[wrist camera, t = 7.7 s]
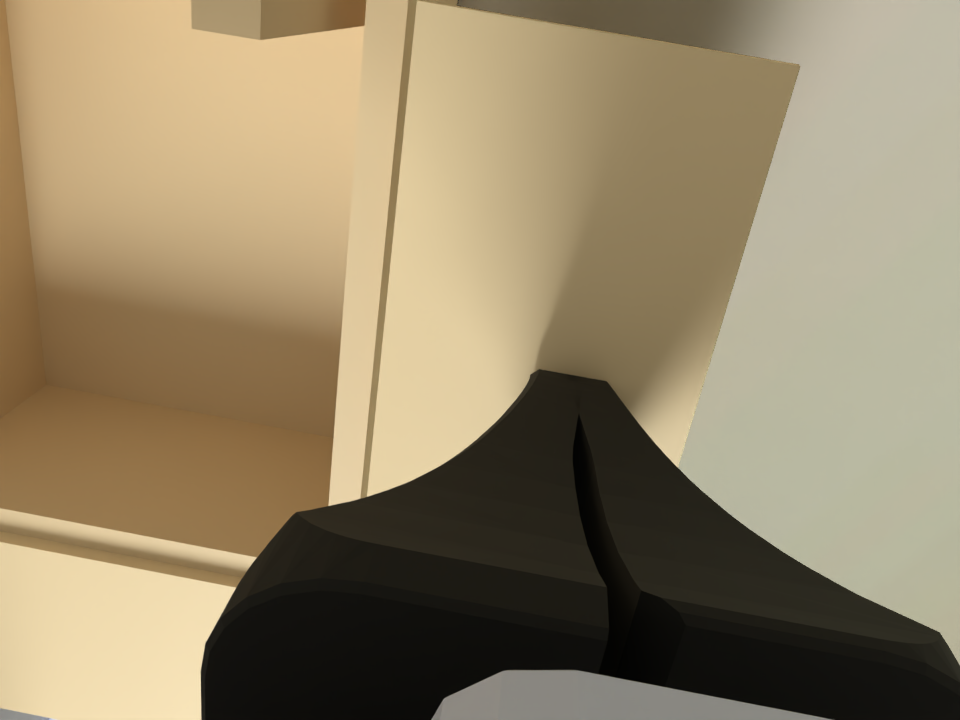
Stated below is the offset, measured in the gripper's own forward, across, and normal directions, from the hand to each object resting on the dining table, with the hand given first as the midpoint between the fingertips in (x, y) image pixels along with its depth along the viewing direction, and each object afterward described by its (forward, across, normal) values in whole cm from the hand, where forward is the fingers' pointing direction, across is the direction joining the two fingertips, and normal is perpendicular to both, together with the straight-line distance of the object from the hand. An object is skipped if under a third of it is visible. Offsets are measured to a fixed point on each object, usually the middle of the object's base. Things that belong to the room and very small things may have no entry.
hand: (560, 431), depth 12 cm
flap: (0, +1, 0) cm, 1 cm away
